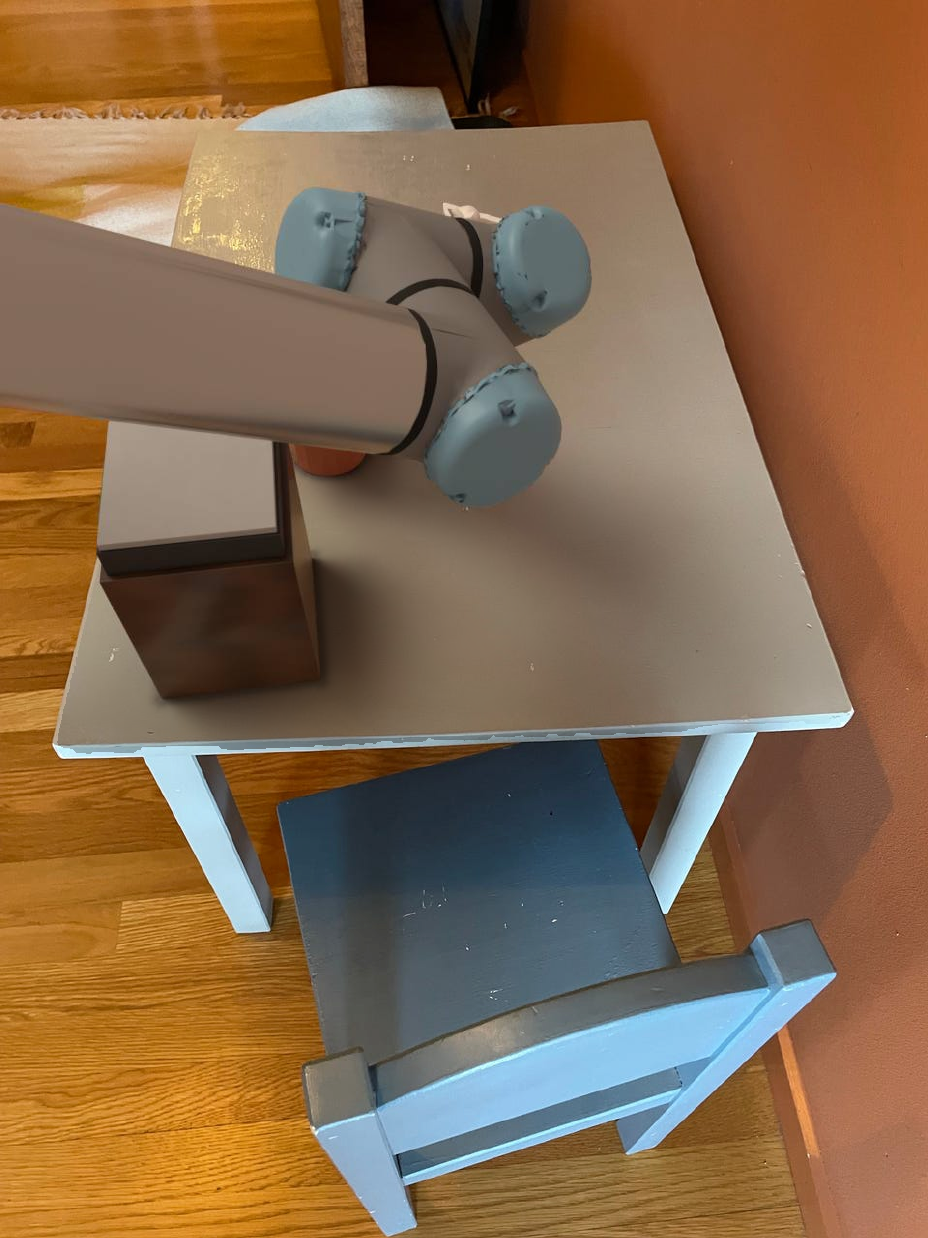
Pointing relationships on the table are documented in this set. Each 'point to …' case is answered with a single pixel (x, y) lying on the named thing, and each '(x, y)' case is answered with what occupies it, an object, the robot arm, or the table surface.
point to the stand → (226, 615)
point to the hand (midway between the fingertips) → (298, 403)
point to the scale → (187, 499)
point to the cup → (325, 459)
